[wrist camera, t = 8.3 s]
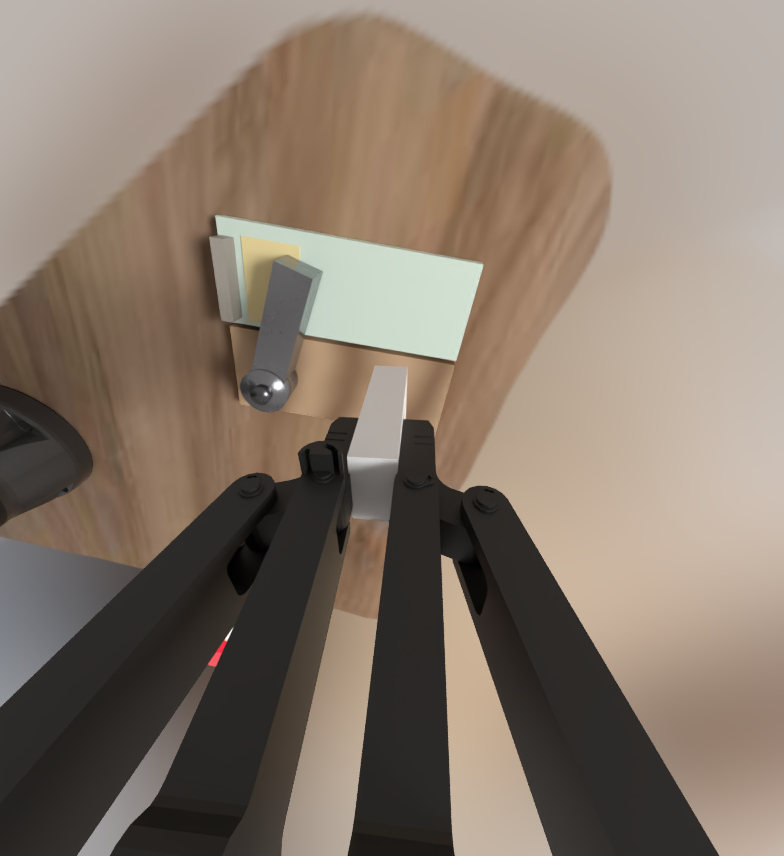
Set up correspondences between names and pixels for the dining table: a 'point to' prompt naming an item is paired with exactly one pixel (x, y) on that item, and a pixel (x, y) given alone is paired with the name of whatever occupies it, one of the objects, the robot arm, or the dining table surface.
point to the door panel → (349, 286)
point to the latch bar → (281, 334)
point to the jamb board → (348, 376)
